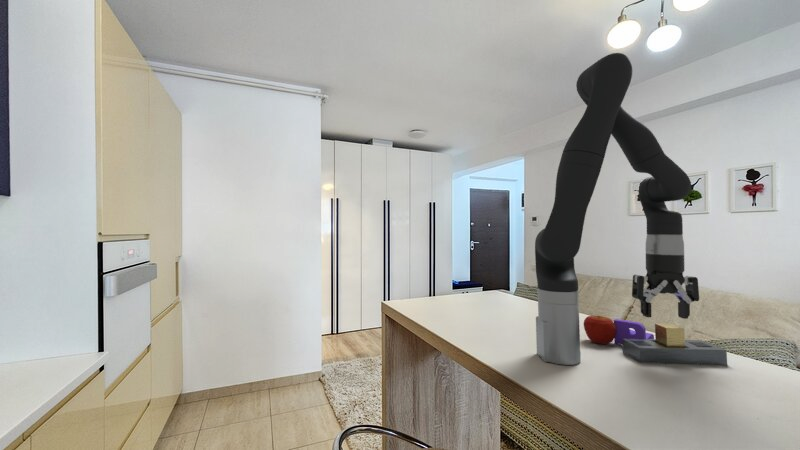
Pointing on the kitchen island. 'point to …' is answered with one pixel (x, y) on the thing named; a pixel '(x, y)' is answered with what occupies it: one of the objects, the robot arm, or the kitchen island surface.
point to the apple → (600, 329)
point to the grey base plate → (675, 352)
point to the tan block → (669, 335)
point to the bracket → (630, 331)
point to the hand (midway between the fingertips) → (665, 317)
